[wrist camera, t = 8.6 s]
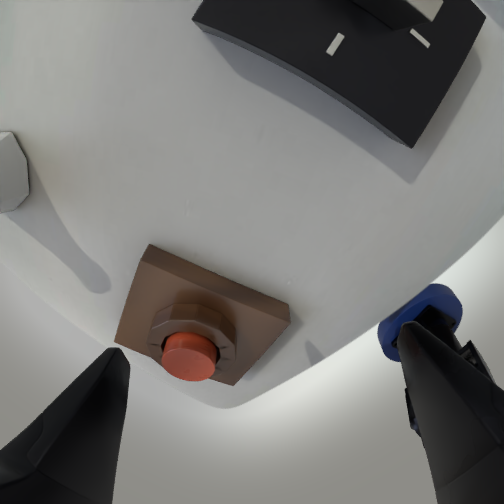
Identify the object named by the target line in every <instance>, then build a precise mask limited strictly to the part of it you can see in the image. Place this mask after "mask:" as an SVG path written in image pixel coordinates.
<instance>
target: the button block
mask: <svg viewBox="0 0 504 504" xmlns="http://www.w3.org/2000/svg"><path fill="white" fill-rule="evenodd" d="M290 323H291V322H290V314H289V307H288V304H286V303H284V302H281V301H279V300H276V299H274V298H271V297H269V296H267V295H264V294H262V293H260V292H257V291H255V290H252V289H250V288H248V287H245V286H243V285H241V284H238V283H236V282H234V281H231V280H229V279H227V278H224V277H222V276H220V275H218V274H215V273H213V272H211V271H208V270H206V269H204V268H202V267H199V266H197V265H195V264H193V263H190V262H188V261H186V260H184V259H181V258H179V257H177V256H175V255H173V254H170V253H168V252H166V251H164V250H162V249H159V248H157V247H155V246H153V245H151V244H149V245H148V247H147V249H146V250H145V252H144V254H143V256H142V258H141V259H140V262H139V265H138V268H137V271H136V273H135V276H134V279H133V282H132V285H131V288H130V291H129V294H128V297H127V300H126V303H125V306H124V310H123V313H122V316H121V319H120V323H119V326H118V329H117V333H116V336H115V340H114V342H115V343H118V344H120V345H122V346H124V347H127V348H129V349H131V350H134V351H136V352H139V353H141V354H143V355H146V356H148V357H151V358H152V359H153V360H155V361H156V362H157V363H158V364H159V365H161V366H162V367H163V365H162V355H163V352H164V348H165V344H166V341H167V339H168V338H169V337H170V336H171V335H172V334H174V333H177V332H194V333H197V334H200V335H202V336H205V337H207V338H209V339H210V340H211V341H212V342H213V343H214V345H215V347H216V349H217V355H216V364H215V371H214V373H213V375H212V376H211V377H209V379H212V380H215V381H218V382H221V383H225V384H228V385H231V386H234V385H235V384H236V383H237V382H238V381H239V380H240V378H241V377H242V376H243V375H244V374H245V373H246V372H247V371H248V370H249V369H250V368H251V367H252V366H253V365H254V363H255V362H256V361H257V360H258V359H259V358H260V357H261V356H262V355H263V354H264V352H265V351H266V350H267V349H268V348H269V347H270V346H271V345H272V343H273V342H274V341H275V340H276V339H277V338H278V337H279V336H280V334H281V333H282V332H283V331H284V330H285V329H286V328H287V326H288V325H289V324H290ZM163 368H164V367H163Z"/></svg>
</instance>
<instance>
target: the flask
mask: <svg viewBox="0 0 504 504" xmlns="http://www.w3.org/2000/svg"><path fill="white" fill-rule="evenodd" d="M28 195H29V185H28V172H27V159H26V158H25V156H24V154H23V152H22V151H21V149H20V147H19V145H18V143H17V141H16V139H15V137H14V135H13V134H12V132H1V133H0V213H3V212H9V211H14V210H15V209H16V208H17V206H18V205H19V204H20V203H21V202H22V201H23V200H24V199H25V198H26V197H27V196H28Z"/></svg>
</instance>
